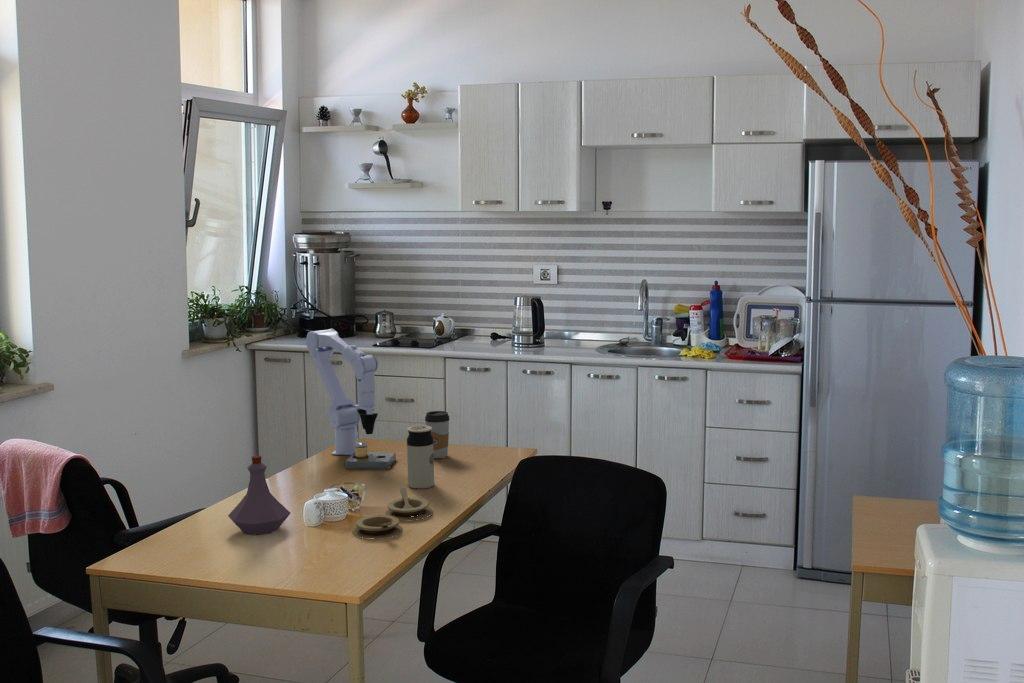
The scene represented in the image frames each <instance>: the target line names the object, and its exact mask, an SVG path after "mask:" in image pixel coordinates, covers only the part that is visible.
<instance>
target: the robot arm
mask: <svg viewBox="0 0 1024 683" xmlns="http://www.w3.org/2000/svg"><path fill="white" fill-rule="evenodd" d="M305 346H306V348H307V349H308V353H309V356H310V357H311V358H312V359H313V360H312V361H313V363H314V365H315V368H316V370H317V372H318V375H319V377H320V380H321V382H322V384H323V386H324V389H325V392H326V394H327V397H328V399H329V401H330V405H329V406H328V407H327V410H326V412H327V416H328V421H329V422H328V423H329V424H330V426H331V428H332V429H334V449H335V450H334V451H332V453H331V455H336V456H337V455H338V456H339V455H340V456H341V455H342V456H344V455H347V456H348V455H349V456H351V455H352V454H353V453H354V452H355V443H357V442H359V437H358V436H359V434H358V433H359V432H358V429H357V427H358V424H359V423H360V422H361V426H362V429H363V430H364V431H365V432H364V433H365V434H366V435H373V434H374V428H375V424H376V420H377V418H378V413H377V412H376V413H375V412H374V410H375V408H377V404H376V383H375V382H376V381H375V380H376V378H375V377H376V376H375V372H377V370H378V368H379V362H378V359H377V356H375V355H374V354H366V353H365V351H362V350H361V349H360V348H358V347H357V345H355V344H349V345H348V343H346V342H345V341H344V340H343V339H342V338H341V337H340V336H339V332H338V331H336V330H335V329H334V328H329V329H323V330H314V331H313V330H310V331H308V332H307V335H306V337H305ZM335 351H337V353H338V352H339V353H340V354H341V355H342V356H341V357H342V359H343V360H345V361H346V362H347V363H348V364H350V365H351V366H352V368H353V370H354V373H355V374H354V375H355V379H357V380H356V381H357V402H358V403H357V404H355V402H354V401H353V400H351V399H349V398H347V397H346V396H345V393H344V390H343V388H342V386H341V382H340V381H339V379H338V376H337V373H336V371H335V369H334V366H333V364H332V362H331V360H330V357H331V356H332V355H333V354H334V352H335Z"/></svg>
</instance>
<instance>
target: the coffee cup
mask: <svg viewBox="0 0 1024 683" xmlns="http://www.w3.org/2000/svg"><path fill="white" fill-rule="evenodd" d="M424 421H425V426H430V427H432V430H431V435H432V437H433V451H434V458H442V457H446V456H448V455H449V454H448V451H449V436H450V435H449V434H450V432H449V429H450V428H449V427H450V426H449V425H450V415H449V412H448V411H444V410H433V411H432V410H431V411H428V412H426V414H425V417H424ZM446 458H447V457H446ZM442 459H443V458H442Z"/></svg>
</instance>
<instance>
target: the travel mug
mask: <svg viewBox="0 0 1024 683" xmlns="http://www.w3.org/2000/svg"><path fill="white" fill-rule="evenodd" d="M431 430H432V427H430V426H426V424H423V425H411V426H409V427H407V432H408V435H407V437H406V452H407V453H406V457H407V461H406V462H407V486H408V487H410V488H411V489H416V488H417V490H423V488H425V489H430V488H431V486H432V487H433V486H434V485H435V467H434V466H435V462H434V451H433V437H432V435H431Z"/></svg>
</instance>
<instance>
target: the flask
mask: <svg viewBox="0 0 1024 683" xmlns="http://www.w3.org/2000/svg"><path fill="white" fill-rule="evenodd" d="M251 462H252V463H251V464H249V465H248V466H247V467H246V468H247V470H248V472H249V474H250V476H249V482H248V487H247V492H246V494H245V495H244V496H243V497H242V499H241V500H240V502H238V504H237V505H236V506H235V507H234V508H233V510H232V511H230V513H229V514H228V515H227V517H228V518H229V519H230V520H231V521H232V523H234V524H235V526H236V527H237V528H239V529H240V531H242V533H244V535H247V536H256V537H257V536H264V535H269V534H272V533H274V532H276V531H278V529H279V528H280V527H281V526H283V524H284V522H285V521H286V520H287V519H288V517H289V516H290V515H291V512H290V510H288V508H286V507H285V506H284V505H283V504H282V503H280V502H279V500H278V499H276V497H274V495H273V494H272V493H271V492H270V489H269V486H268V482H267V480H266V476H265V474H266V473H265V472H266V470H267V466H266V464H264V463H263V462H262V456H261V455H253V456H251Z"/></svg>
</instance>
